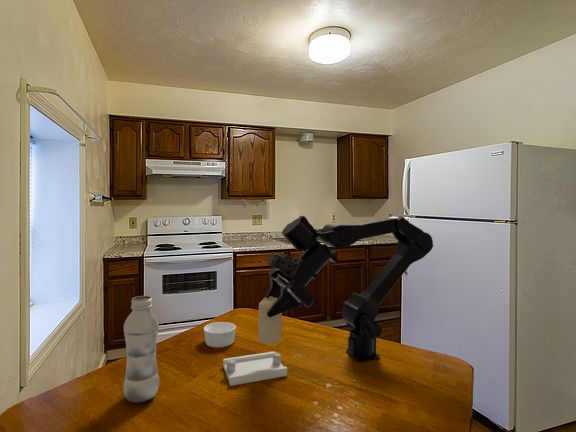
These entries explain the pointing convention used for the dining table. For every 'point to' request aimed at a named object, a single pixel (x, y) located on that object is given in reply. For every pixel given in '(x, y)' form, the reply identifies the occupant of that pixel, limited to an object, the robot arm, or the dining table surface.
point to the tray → (254, 368)
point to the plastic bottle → (141, 351)
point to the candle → (269, 323)
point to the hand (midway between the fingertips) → (264, 312)
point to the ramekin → (219, 334)
